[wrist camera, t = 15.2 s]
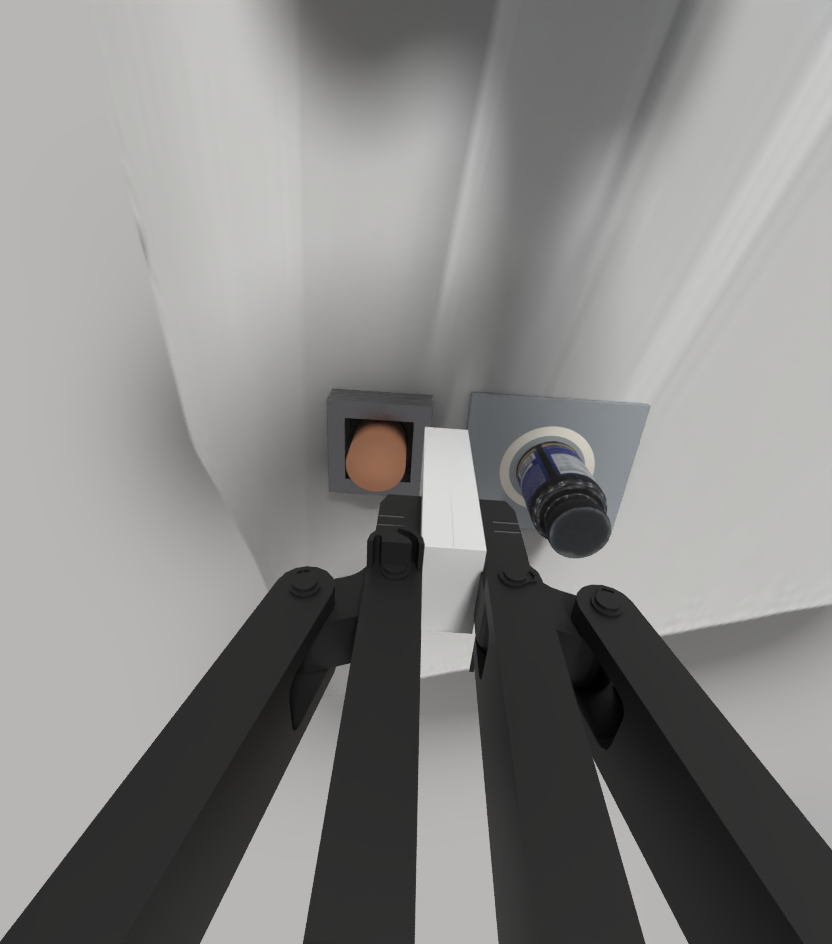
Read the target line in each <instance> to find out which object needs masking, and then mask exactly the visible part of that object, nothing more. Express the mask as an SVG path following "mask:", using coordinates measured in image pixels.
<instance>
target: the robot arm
mask: <svg viewBox="0 0 832 944" xmlns="http://www.w3.org/2000/svg"><path fill="white" fill-rule="evenodd" d="M474 624H475V634H476V637H475V642H474V648H473V653H472V659H471V664H470V672H474V668H475V679H476V690H477V702H478V712H479V724H480V735H481V746H482V759H483V770H484V782H485V793H486V804H487V816H488V827H489V839H490V850H491V861H492V873H493V883H494V896H495V907H496V918H497V929H498V941H499V944H645V941H644V937H643V934H642V930H641V927H640V923H639V920H638V916H637V912H636V909H635V906H634V902H633V899H632V895H631V891H630V888H629V884H628V881H627V877H626V874H625V871H624V867H623V863H622V860H621V856H620V853H619V849H618V846H617V842H616V838H615V835H614V831H613V828H612V824H611V821H610V817H609V814H608V811H607V807H606V803H605V800H604V796H603V793H602V789H601V786H600V783H599V779H598V775H597V772H596V768H595V765H594V761H595V763H596V765H597V767H598V769H599V770H600V773H601V775H602V777H603V779H604V780H605V782H606V784H607V786H608V788H609V790H610V792H611V794H612V796H613V798H614V800H615V801H616V804H617V806H618V808H619V810H620V811H621V813H622V815H623V817H624V819H625V821H626V823H627V825H628V827H629V829H630V831H631V833H632V835H633V837H634V839H635V841H636V842H637V844H638V846H639V848H640V850H641V852H642V854H643V856H644V858H645V860H646V862H647V864H648V866H649V868H650V870H651V871H652V873H653V875H654V877H655V879H656V881H657V883H658V885H659V887H660V889H661V891H662V893H663V895H664V897H665V899H666V901H667V903H668V904H669V906H670V908H671V910H672V912H673V914H674V916H675V918H676V920H677V922H678V924H679V926H680V928H681V930H682V931H683V934H684V935H685V937H686V939H687V941H688V943H689V944H832V850H831V849H830V847H829V846H828V845H827V844H826V842H825V841H824V840H823V839H822V837H821V836H820V835H819V834H818V832H817V831H816V830H815V829H814V827H813V826H812V825H811V824H810V822H809V821H808V820H807V819H806V818H805V817H804V815H803V814H802V812H801V811H800V810H799V809H798V807H796V805H795V804H794V803H793V801H792V800H791V799H790V798H789V796H788V795H787V794H786V793H785V791H784V790H783V789H782V788H781V786H780V785H779V784H778V783H777V781H776V780H775V779H774V778H773V777H772V775H771V774H770V773H769V771H768V770H767V769H766V768H765V766H764V765H763V764H762V763H761V762H760V760H759V759H758V758H757V757H756V755H755V754H754V753H753V752H752V750H751V749H750V748H749V747H748V745H747V744H746V743H745V742H744V740H743V739H742V738H741V737H740V735H739V734H738V733H737V732H736V730H735V729H734V728H733V727H732V726H731V724H730V723H729V722H728V720H727V719H726V718H725V717H724V715H723V714H722V713H721V712H720V710H719V709H718V708H717V707H716V706H715V704H714V703H713V702H712V701H711V699H710V698H709V697H708V696H707V694H706V693H705V692H704V691H703V689H702V688H701V687H700V686H699V684H698V683H697V682H696V681H695V679H694V678H693V677H692V676H691V675H690V673H689V672H688V671H687V669H686V668H685V667H684V666H683V664H681V662H680V661H679V659H678V658H677V657H676V656H675V655H674V654H673V652H672V651H671V650H670V648H669V647H668V646H667V645H666V643H665V642H664V641H663V640H662V638H661V637H660V636H659V635H658V633H657V632H656V631H655V630H654V628H653V627H652V626H651V625H650V623H649V622H648V621H647V620H646V618H645V617H644V616H643V615H642V613H641V612H640V611H639V610H638V608H637V607H636V606H635V605H634V604H633V602H632V601H631V600H630V599H629V598H627V597H626V596H625V595H624V594H623V593H621V592H619V591H617V590H615V589H614V588H610V587H607V586H603V585H589V586H585V587H583V588H582V589H581V590H580V591H579V592H578V593H577V596H576V595H573V594H569V593H566V592H563V591H559V590H557V589H554V588H552V587H549V586H548V585H546V584H544V583H543V581H542V579H541V577H540V575H539V573H538V572H537V571H536V570H535V569H533V568H532V567H531V566H530V565H529V561H528V557H527V554H526V550H525V546H524V542H523V539H522V535H521V531H520V527H519V525H518V520H517V516H516V512H515V510H514V509H513V508H512V507H511V506H510V505H509V504H508V503H507V502H506V501H499V500H484V499H478V492H477V486H476V479H475V473H474V466H473V460H472V453H471V447H470V440H469V434H468V430H463V429H449V428H434V427H425V432H424V445H423V457H422V470H421V482H420V496H410V495H395V494H388V496H387V497H386V498H385V499H384V500H383V501H382V502H381V503H380V509H379V515H378V521H377V527H376V531H374V532H373V533H371V534H370V536H369V538H368V540H367V566H366V567H365V568H364V569H363V570H361V571H360V572H358V573H356V574H354V575H351V576H347V577H342V578H337V579H333V577H332V576H331V575H330V574H329V573H328V572H327V571H325V570H323V569H320V568H318V567H308V566H306V567H300V568H295V569H293V570H291V571H288V572H286V573H285V574H284V575H283V576H282V577H280V578H279V579H278V580H277V582H276V583H275V584H274V586H273V587H272V588H271V590H270V591H269V592H268V593H267V595H266V596H265V597H264V599H263V600H262V601H261V603H260V604H259V605H258V606H257V608H256V609H255V610H254V612H253V613H252V614H251V616H250V617H249V618H248V619H247V621H246V622H245V623H244V625H243V626H242V627H241V629H240V630H239V631H238V632H237V634H236V635H235V637H234V638H233V639H232V640H231V642H230V643H229V645H228V646H227V647H226V648H225V649H224V651H223V652H222V653H221V655H220V656H219V657H218V659H217V660H216V661H215V662H214V664H213V665H212V666H211V668H210V669H209V670H208V672H207V673H206V674H205V675H204V677H203V678H202V679H201V681H200V682H199V683H198V685H197V686H196V687H195V689H194V690H193V691H192V693H191V694H190V695H189V696H188V698H187V699H186V700H185V702H184V703H183V704H182V705H181V707H180V708H179V709H178V711H177V712H176V713H175V715H174V716H173V717H172V718H171V720H170V721H169V722H168V724H167V725H166V726H165V728H164V729H163V730H162V731H161V733H160V734H159V735H158V737H157V738H156V739H155V741H154V742H153V743H152V745H151V746H150V747H149V748H148V750H147V751H146V752H145V754H144V755H143V756H142V758H141V759H140V760H139V762H138V763H137V764H136V765H135V767H134V768H133V769H132V771H131V772H130V773H129V775H128V776H127V777H126V779H125V780H124V781H123V782H122V784H121V785H120V786H119V788H118V789H117V790H116V791H115V793H114V794H113V795H112V797H111V798H110V799H109V801H108V802H107V803H106V804H105V806H104V807H103V808H102V810H101V811H100V812H99V814H98V815H97V816H96V817H95V819H94V820H93V821H92V823H91V824H90V825H89V827H88V828H87V829H86V831H85V832H84V833H83V834H82V836H81V837H80V838H79V840H78V841H77V842H76V844H75V845H74V846H73V847H72V849H71V850H70V851H69V853H68V854H67V856H66V857H65V858H64V859H63V860H62V862H61V863H60V865H59V866H58V867H57V868H56V870H55V871H54V872H53V873H52V875H51V876H50V878H49V879H48V880H47V881H46V883H45V884H44V885H43V887H42V888H41V889H40V890H39V892H38V893H37V894H36V896H35V897H34V898H33V900H32V901H31V902H30V904H29V905H28V906H27V908H26V909H25V910H24V911H23V913H22V914H21V915H20V917H19V918H18V919H17V921H16V922H15V923H14V924H13V926H12V927H11V928H10V930H9V931H8V932H7V933H6V935H5V936H4V937H3V939H2V940H1V941H0V944H200V942H201V940H202V938H203V936H204V934H205V932H206V930H207V928H208V926H209V924H210V922H211V920H212V918H213V916H214V914H215V912H216V910H217V908H218V906H219V904H220V902H221V900H222V898H223V896H224V894H225V892H226V890H227V888H228V886H229V884H230V882H231V880H232V878H233V876H234V874H235V872H236V870H237V868H238V866H239V863H240V861H241V860H242V857H243V855H244V853H245V851H246V849H247V847H248V845H249V843H250V841H251V839H252V837H253V835H254V833H255V831H256V829H257V827H258V825H259V823H260V821H261V819H262V817H263V815H264V813H265V811H266V809H267V807H268V805H269V803H270V801H271V799H272V797H273V795H274V793H275V791H276V789H277V787H278V785H279V783H280V781H281V779H282V776H283V775H284V773H285V771H286V769H287V766H288V764H289V762H290V760H291V758H292V756H293V754H294V752H295V750H296V748H297V746H298V744H299V742H300V740H301V738H302V736H303V734H304V732H305V730H306V728H307V726H308V724H309V722H310V720H311V718H312V716H313V714H314V712H315V710H316V708H317V706H318V704H319V702H320V700H321V698H322V696H323V694H324V692H325V690H326V688H327V686H328V684H329V682H330V680H331V678H332V676H333V674H334V672H335V668H336V666H340V665H344V664H349V663H351V664H350V670H349V676H348V682H347V688H346V694H345V700H344V705H343V711H342V718H341V724H340V729H339V735H338V741H337V747H336V753H335V758H334V765H333V770H332V776H331V782H330V788H329V794H328V800H327V805H326V812H325V817H324V823H323V829H322V835H321V841H320V847H319V852H318V859H317V864H316V870H315V876H314V882H313V888H312V893H311V899H310V905H309V911H308V917H307V923H306V929H305V935H304V940H303V944H415V943H414V942H415V898H416V849H417V848H416V847H417V802H418V801H417V800H418V755H419V707H420V706H419V704H420V659H421V630H425V631H440V632H455V633H470V634H472V631H473V625H474ZM593 759H594V761H593Z"/></svg>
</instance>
